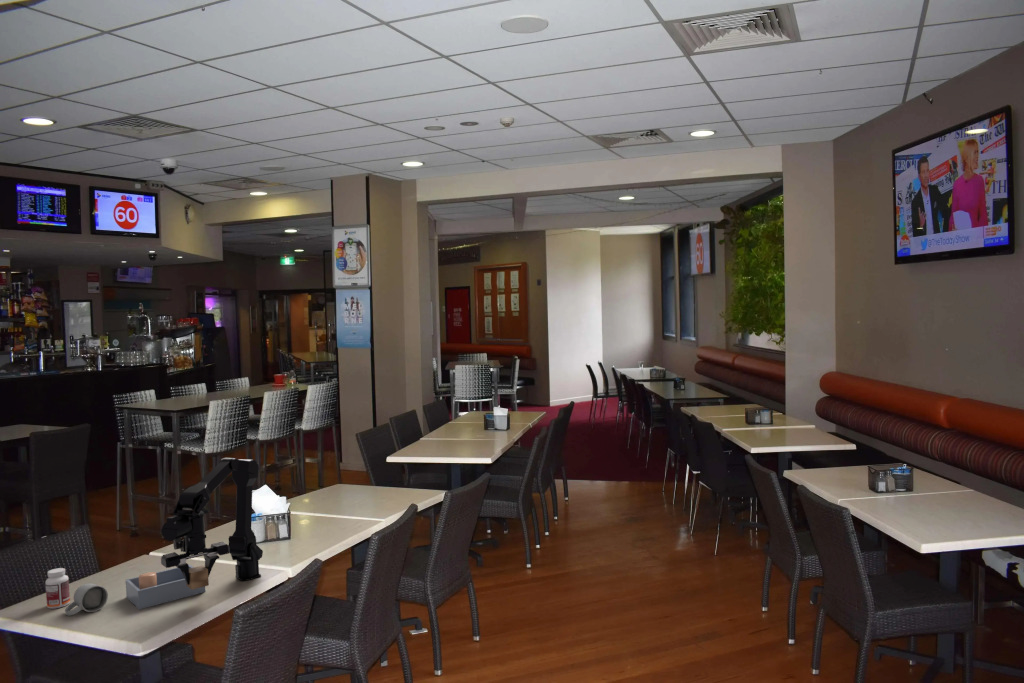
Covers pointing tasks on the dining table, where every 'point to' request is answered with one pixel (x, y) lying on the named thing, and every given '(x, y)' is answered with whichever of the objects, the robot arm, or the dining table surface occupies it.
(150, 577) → the terracotta cylinder
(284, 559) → the dining table surface
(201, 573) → the walnut cube
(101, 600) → the ceramic mug
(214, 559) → the robot arm
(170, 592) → the tote
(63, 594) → the pill bottle
